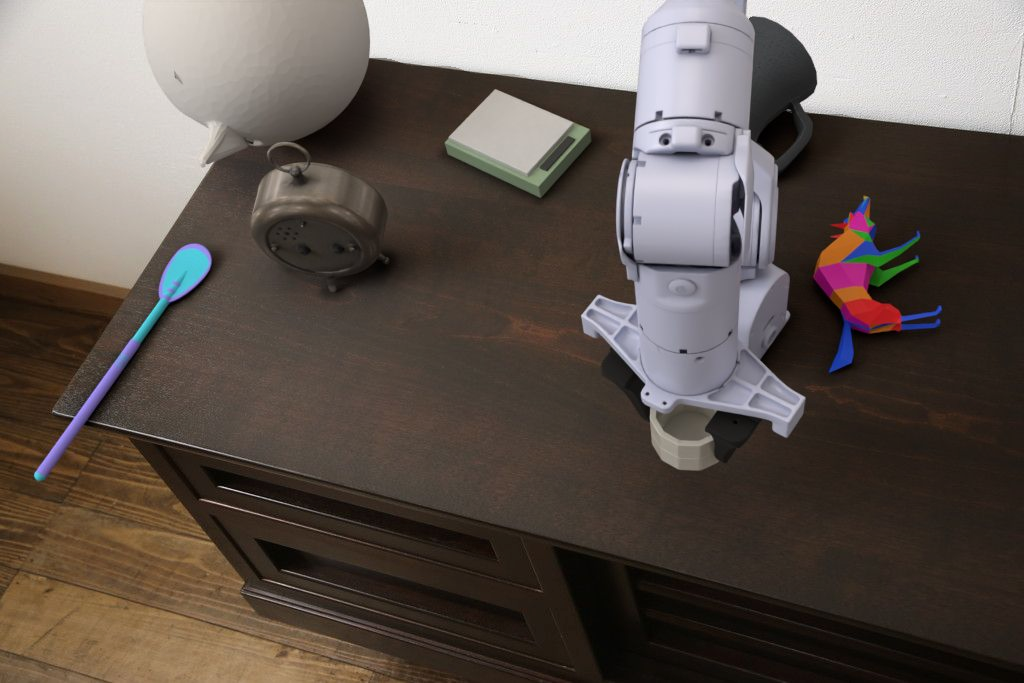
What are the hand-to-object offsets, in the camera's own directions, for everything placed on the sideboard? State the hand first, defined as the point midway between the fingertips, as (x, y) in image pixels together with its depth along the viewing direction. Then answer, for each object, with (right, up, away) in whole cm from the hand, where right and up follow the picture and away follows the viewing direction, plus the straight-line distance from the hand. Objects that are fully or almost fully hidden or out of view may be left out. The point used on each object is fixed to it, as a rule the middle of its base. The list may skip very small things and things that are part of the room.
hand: (690, 429), depth 73 cm
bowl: (0, -1, +1) cm, 1 cm away
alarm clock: (-27, +12, +23) cm, 38 cm away
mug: (+13, +30, +23) cm, 40 cm away
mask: (-29, +37, +35) cm, 59 cm away
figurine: (+20, +12, +11) cm, 26 cm away
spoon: (-45, +5, +19) cm, 49 cm away
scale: (-11, +24, +28) cm, 39 cm away
